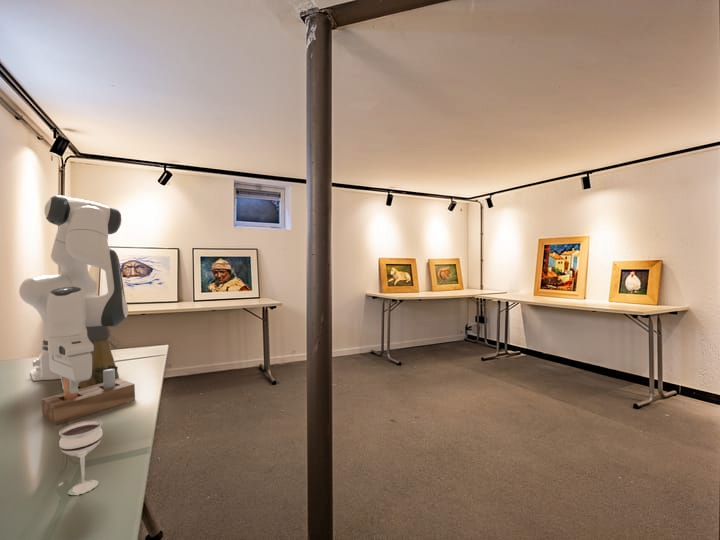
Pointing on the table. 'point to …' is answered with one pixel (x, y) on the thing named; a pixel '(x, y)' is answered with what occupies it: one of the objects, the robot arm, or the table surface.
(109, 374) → the seated peg
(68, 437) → the wineglass
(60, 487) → the table surface
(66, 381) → the peg
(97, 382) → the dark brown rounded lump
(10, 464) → the table surface
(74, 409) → the peg block
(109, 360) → the windmill
